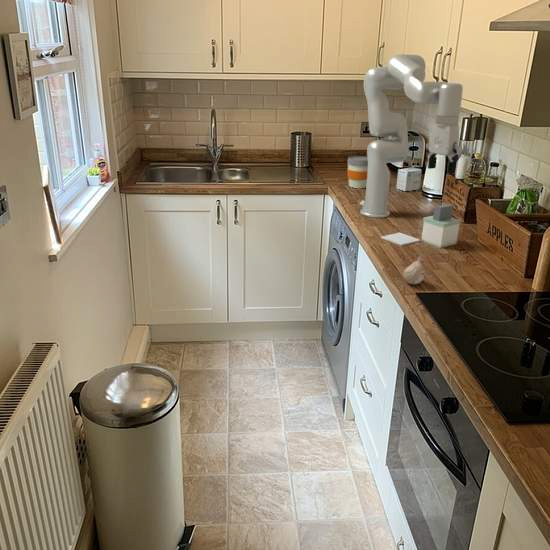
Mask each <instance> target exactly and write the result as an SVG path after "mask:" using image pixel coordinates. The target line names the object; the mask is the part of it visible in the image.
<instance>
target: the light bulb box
mask: <svg viewBox="0 0 550 550" xmlns="http://www.w3.org/2000/svg"><path fill="white" fill-rule="evenodd" d="M421 178H422V169H421V168H417V167H407V168H401V169H400V168H398V170H397V178H396V188H397V189H400V190H403V191H410V192H412V191H411V190H416V189H419V190H420V186H421ZM396 188H395V189H396ZM416 191H417V190H416Z"/></svg>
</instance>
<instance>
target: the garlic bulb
mask: <svg viewBox="0 0 550 550" xmlns="http://www.w3.org/2000/svg"><path fill="white" fill-rule="evenodd" d="M422 261H423V257H421V256H420V255H419V256H418V258H417V260H415V261H413V263H412V262H411V264H410V265H409V266H407V267H406V268H404V270H403V275H402V276H403V278H404V280H405V281H406V283H408V284H409V285H418V284H420V283H422V281H423V280H424V276H425V272H424V267H423V265H422V263H421V262H422Z"/></svg>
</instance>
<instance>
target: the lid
mask: <svg viewBox="0 0 550 550" xmlns="http://www.w3.org/2000/svg"><path fill="white" fill-rule="evenodd" d="M453 210H454V205H453V204H450V203H444V204H438V205H435V206H434V210H433V215H430V216H425V217H423V220H422V221H423V222H424V221H426V222H429V223H432V224H435V225H438V226H441V227H447V226H452V225H456V224H459V225H460V224H461V219H458V218H454V217H452V216H453Z"/></svg>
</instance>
